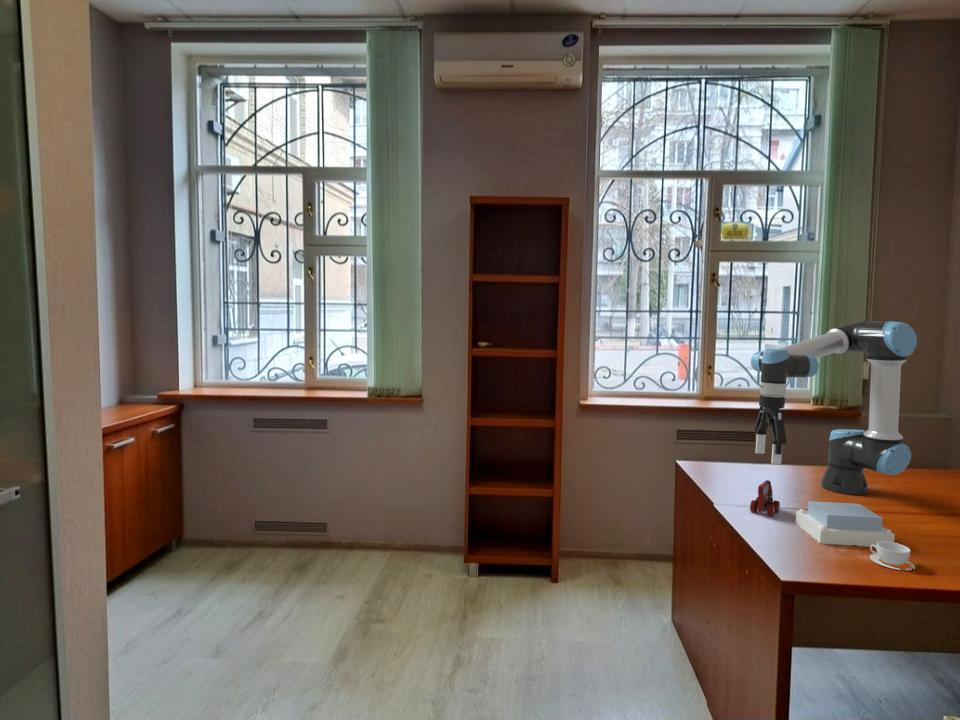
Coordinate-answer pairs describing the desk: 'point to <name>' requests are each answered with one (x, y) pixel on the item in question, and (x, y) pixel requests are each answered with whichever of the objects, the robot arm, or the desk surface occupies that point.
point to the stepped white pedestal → (842, 524)
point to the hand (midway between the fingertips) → (767, 458)
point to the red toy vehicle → (765, 500)
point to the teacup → (891, 554)
